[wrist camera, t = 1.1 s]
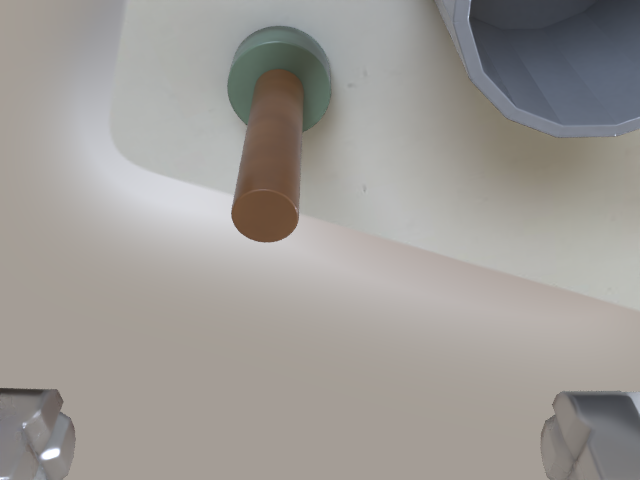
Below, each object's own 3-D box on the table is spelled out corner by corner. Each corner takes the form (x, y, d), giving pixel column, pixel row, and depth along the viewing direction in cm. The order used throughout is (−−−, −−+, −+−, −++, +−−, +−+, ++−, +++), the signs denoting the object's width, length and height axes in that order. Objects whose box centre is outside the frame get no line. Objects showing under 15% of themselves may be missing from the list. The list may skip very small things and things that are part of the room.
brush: (220, 100, 32) (179, 248, 22) (248, 10, 29) (214, 137, 20) (309, 130, 33) (306, 283, 24) (345, 47, 30) (357, 183, 21)
